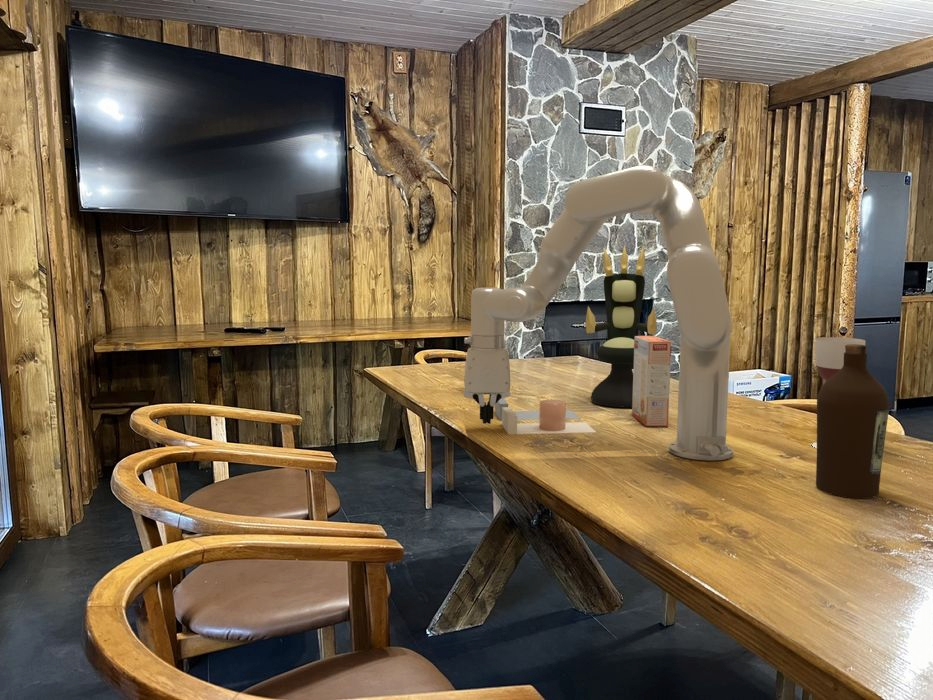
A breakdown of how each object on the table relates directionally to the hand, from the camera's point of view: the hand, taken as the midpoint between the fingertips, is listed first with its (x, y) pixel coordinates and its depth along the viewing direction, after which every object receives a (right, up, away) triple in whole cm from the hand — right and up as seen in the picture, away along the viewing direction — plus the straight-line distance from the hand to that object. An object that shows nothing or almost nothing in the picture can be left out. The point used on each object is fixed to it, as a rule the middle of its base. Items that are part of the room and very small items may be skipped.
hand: (486, 422), depth 155 cm
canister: (+15, -1, +1) cm, 15 cm away
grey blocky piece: (+13, -1, +15) cm, 20 cm away
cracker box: (+41, -1, +15) cm, 44 cm away
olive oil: (+61, -8, -39) cm, 72 cm away
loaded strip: (+14, -3, +1) cm, 15 cm away
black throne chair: (+39, +1, +39) cm, 56 cm away
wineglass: (+73, -4, -11) cm, 74 cm away
